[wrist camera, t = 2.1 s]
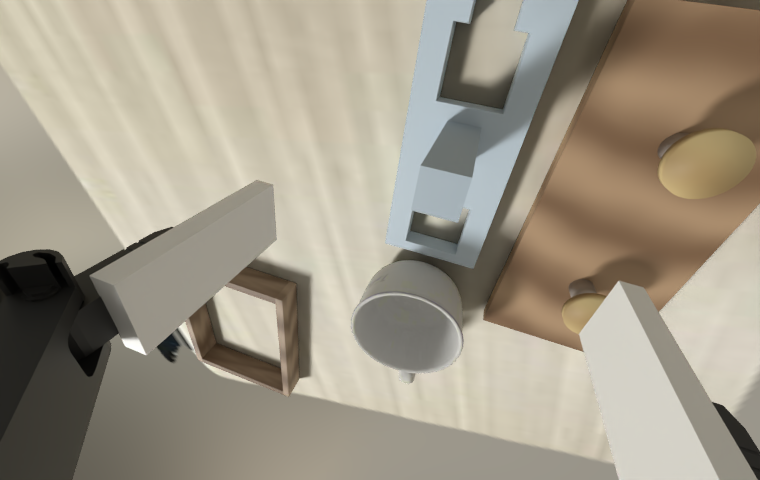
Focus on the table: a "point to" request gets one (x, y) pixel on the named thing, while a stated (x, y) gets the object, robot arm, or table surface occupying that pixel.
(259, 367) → the open brown wooden frame
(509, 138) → the blue post stand
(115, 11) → the table surface
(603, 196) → the boss board
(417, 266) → the teacup
